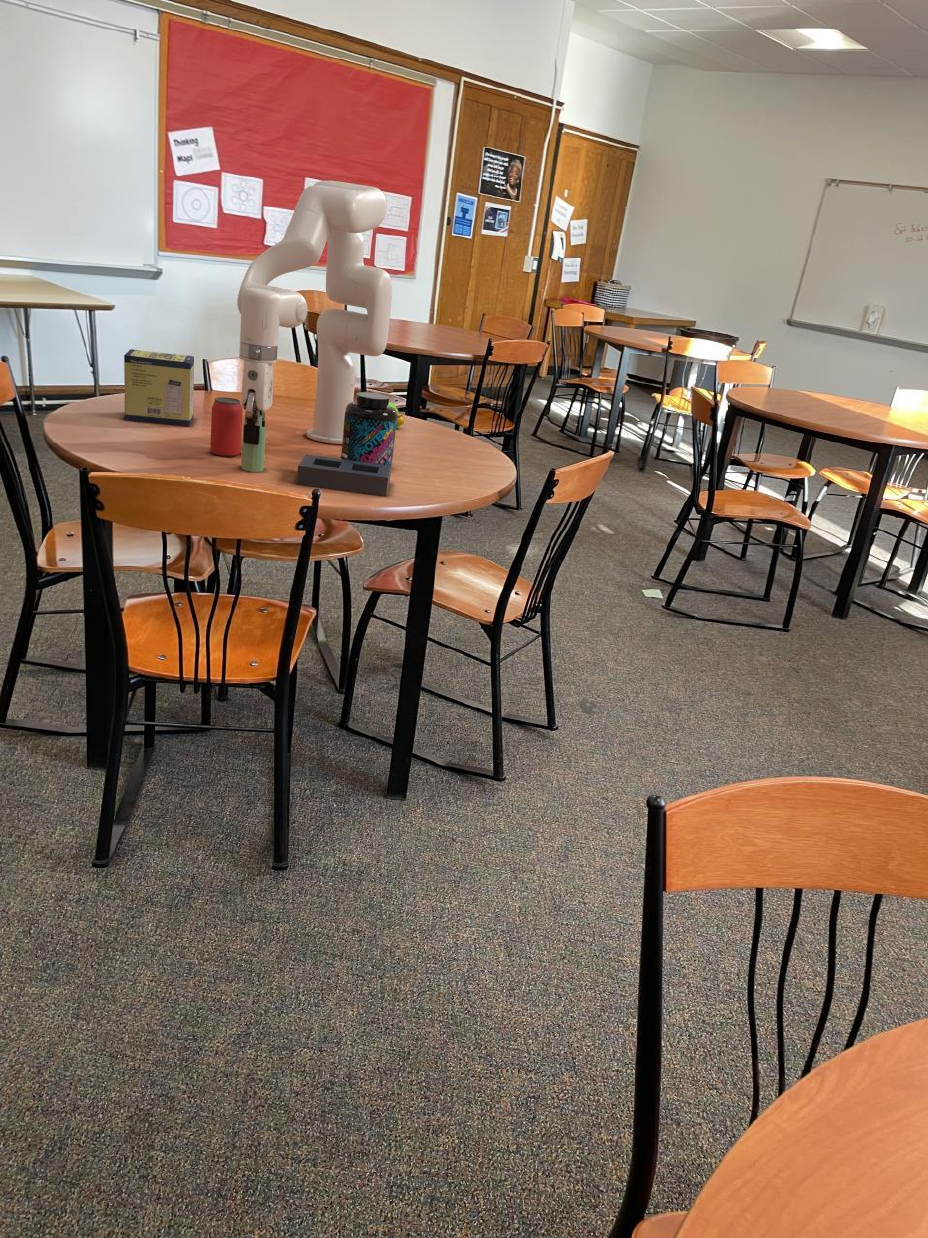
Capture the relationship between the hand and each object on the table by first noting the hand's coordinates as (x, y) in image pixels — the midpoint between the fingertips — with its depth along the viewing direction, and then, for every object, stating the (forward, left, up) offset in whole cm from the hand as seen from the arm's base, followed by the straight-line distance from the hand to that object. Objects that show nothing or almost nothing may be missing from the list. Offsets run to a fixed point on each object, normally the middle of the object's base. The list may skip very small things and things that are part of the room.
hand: (253, 440), depth 190 cm
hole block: (+2, +20, -6) cm, 21 cm away
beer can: (-10, -8, -6) cm, 14 cm away
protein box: (-35, -30, -6) cm, 47 cm away
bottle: (0, 0, -6) cm, 6 cm away
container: (-17, +23, -6) cm, 29 cm away
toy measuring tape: (-68, +21, -6) cm, 71 cm away
